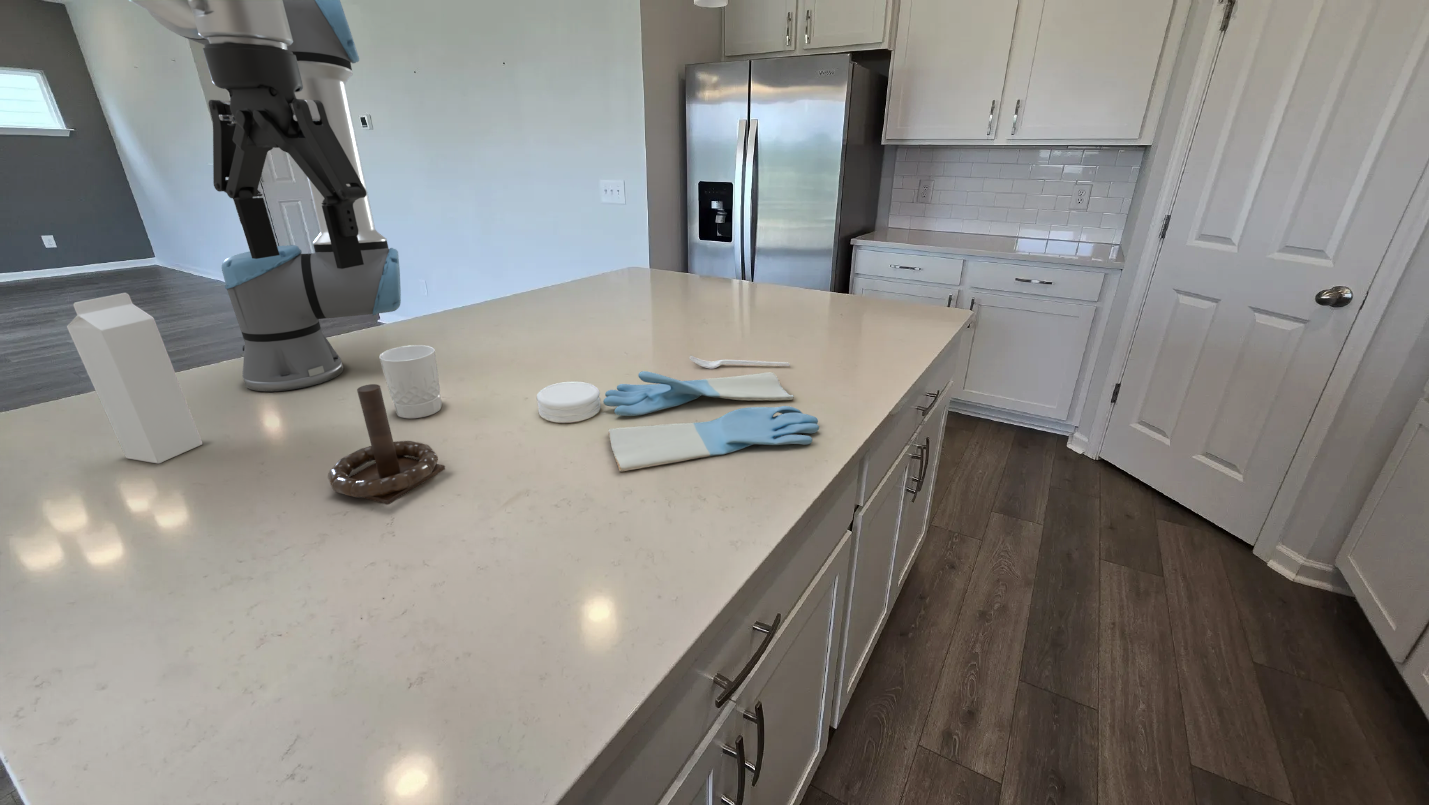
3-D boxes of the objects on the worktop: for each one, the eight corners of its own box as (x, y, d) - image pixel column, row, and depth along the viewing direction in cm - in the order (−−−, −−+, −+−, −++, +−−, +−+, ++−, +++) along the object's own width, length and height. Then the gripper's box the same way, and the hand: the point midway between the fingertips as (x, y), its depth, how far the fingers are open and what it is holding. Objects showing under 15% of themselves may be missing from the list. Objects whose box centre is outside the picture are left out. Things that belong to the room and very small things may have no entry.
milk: (125, 459, 80) (52, 301, 72) (172, 439, 86) (110, 290, 77) (159, 464, 79) (88, 304, 70) (204, 444, 84) (144, 293, 76)
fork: (790, 369, 115) (791, 360, 114) (689, 368, 115) (688, 359, 114) (788, 364, 118) (789, 355, 117) (690, 362, 118) (689, 353, 117)
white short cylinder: (526, 411, 96) (524, 391, 94) (577, 394, 103) (576, 375, 101) (561, 430, 90) (559, 409, 88) (613, 410, 96) (611, 391, 95)
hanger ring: (308, 488, 71) (303, 474, 70) (389, 445, 81) (386, 432, 81) (382, 508, 67) (378, 493, 66) (458, 461, 78) (455, 447, 77)
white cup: (425, 422, 92) (412, 362, 88) (381, 418, 93) (367, 358, 89) (455, 403, 99) (445, 346, 95) (414, 399, 100) (402, 343, 96)
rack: (335, 496, 72) (305, 395, 67) (395, 462, 80) (372, 370, 75) (389, 511, 69) (363, 407, 64) (446, 475, 77) (427, 380, 72)
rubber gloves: (838, 443, 86) (842, 403, 84) (618, 473, 78) (615, 430, 75) (770, 378, 110) (772, 346, 108) (596, 396, 102) (593, 361, 99)
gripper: (126, 44, 59) (199, 258, 67) (301, 33, 51) (358, 277, 59) (207, 54, 65) (265, 248, 74) (374, 46, 57) (417, 264, 66)
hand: (307, 261), depth 67 cm, fingers open, 13 cm apart
